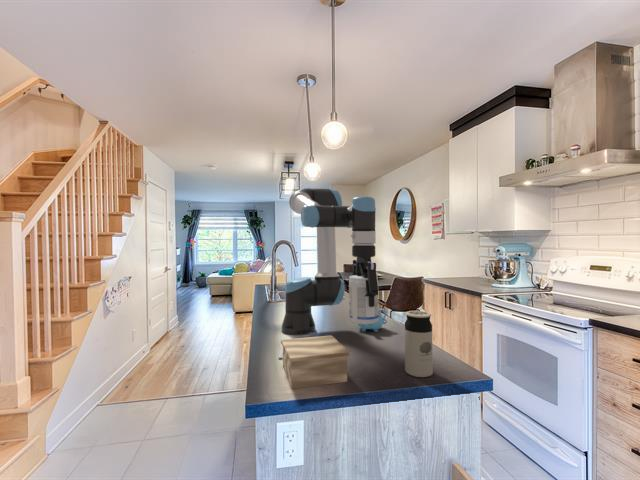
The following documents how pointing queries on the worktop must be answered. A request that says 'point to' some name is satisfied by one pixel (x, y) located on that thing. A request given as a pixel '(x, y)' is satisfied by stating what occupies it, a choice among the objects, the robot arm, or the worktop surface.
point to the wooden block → (314, 361)
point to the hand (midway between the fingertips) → (363, 312)
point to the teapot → (375, 325)
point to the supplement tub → (360, 301)
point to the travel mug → (418, 344)
